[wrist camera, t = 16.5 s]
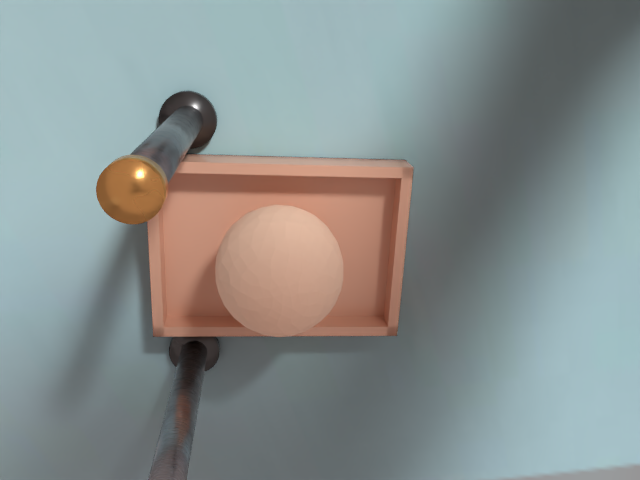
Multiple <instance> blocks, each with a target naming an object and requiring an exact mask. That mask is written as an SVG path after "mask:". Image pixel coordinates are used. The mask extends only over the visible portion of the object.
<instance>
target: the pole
mask: <svg viewBox="0 0 640 480" xmlns="http://www.w3.org/2000/svg"><path fill="white" fill-rule="evenodd" d="M219 350H220V347H219V342H218V340H217V338H216V336H199V337H173V339H172V341H171V344H170V348H169V355H170V359H171V361H172V363H173V364H174V365H175V366H176V367H177V368H176V372H175V376H174V380H173V384H172V388H171V392H170V396H169V400H168V404H167V408H166V412H165V416H164V420H163V424H162V427H161V431H160V435H159V439H158V443H157V447H156V451H155V455H154V459H153V463H152V467H151V471H150V475H149V479H148V480H186V478H187V472H188V466H189V460H190V454H191V448H192V442H193V436H194V430H195V424H196V418H197V413H198V407H199V401H200V395H201V389H202V383H203V377H204V372H205V371H207V370H209V369H210V368H212V367H213V366H214V365H215V363H216V362H217V360H218V357H219Z"/></svg>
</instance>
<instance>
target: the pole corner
mask: <svg viewBox="0 0 640 480" xmlns="http://www.w3.org/2000/svg"><path fill="white" fill-rule="evenodd" d="M159 123H160V126H159V127H158V128H157V129H156V130H155V131H154V132H153V133H152V134H151V135H150V136H149V137H148V138H147V139H146V140H145V141H144V142H143V143H142V144H141V145H139V146H138V147H137V148H136V149H135V150H134V151H133V152H132V153H131V154H130V155H126V156H122V157H120V158H118V159H116V160H115V161H113V162H112V163H111V164H110V165H109V166H108V167H107V168H105V169H104V171H103V172H102V173H101V175H100V176H99V179H98V181H97V187H96V193H97V198H98V201H99V203H100V205H101V207H102V209H103V210H104V211H105V212H106V213H107V214H108V215H109V216H110V217H112V218H113V219H115V220H117V221H119V222H122V223H126V224H140V223H144V222H147V221H149V220H150V219H152V218H153V217H154V216H156V215H157V213H158V212H159V211H160V209H161V208H162V206H163V204H164V202H165V200H166V198H167V195H168V183H169V181H170V180H171V178H172V176H173V175H174V173H175V171H176V170H177V168H178V166H179V165H180V163H181V161H182V160H183V158H184V156H185V155H186V153H187V151H188V150H189V149H193V148H197V147H200V146H202V145H204V144H206V143H207V142H208V141H209V140H210V139H211V137H212V136H213V134H214V132H215V129H216V126H217V115H216V112H215V109H214V107H213V105H212V104H211V102H210V101H209V100H208V99H207V98H206V97H204V96H203V95H201V94H199V93H196V92H193V91H182V92H178V93H176V94H174V95H172V96H171V97H169V98H168V99H167V100H166V101H165V102H164V104H163V105H162V108H161V110H160V114H159Z"/></svg>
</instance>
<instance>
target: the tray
mask: <svg viewBox="0 0 640 480" xmlns="http://www.w3.org/2000/svg"><path fill="white" fill-rule="evenodd" d="M412 178H413V167H412V166H411V165H410V164H409V163H408V162H407V161H406V160H389V159H351V158H314V157H276V156H238V155H200V154H186V155H185V156H184V158H183V160H182V161H181V163H180V165H179V166H178V168H177V170H176V171H175V173H174V175H173V176H172V178H171V180H170V181H169V183H168V195H167V198H166V200H165V202H164V204H163V206H162V208H161V209H160V211H159V212H158V213H157V215H156V216H154V217H153V218H152V219H150V220H149V221H147V226H148V245H149V264H150V283H151V302H152V321H153V337H199V336H267V335H262V334H260V333H257V332H255V331H252V330H250V329H248V328H246V327H245V326H244V325H242V324H241V323H240V322H238V321H237V320H236V319H235V318H234V317H233V316H232V315H231V314H230V312H229V311H228V310H227V308H226V307H225V306H224V304H223V302H222V299H221V297H220V295H219V292H218V288H217V284H216V276H215V266H216V256H217V253H218V250H219V247H220V244H221V242H222V240H223V238H224V236H225V234H226V232H227V231H228V230H229V229H230V227H231V226H232V225H233V224H234V223H235V222H237V221H238V220H239V219H240V218H242V217H243V216H244V215H245V214H247V213H249V212H251V211H254V210H256V209H258V208H261V207H266V206H272V205H286V206H294V207H297V208H299V209H302V210H305V211H307V212H309V213H311V214H313V215H315V216H316V217H317V218H318V219H320V220H321V221H322V222H323V223H324V224H325V225H326V226H327V227H328V228H329V230H330V231H331V233H332V234H333V236H334V237H335V239H336V240H337V242H338V245H339V248H340V251H341V255H342V259H343V283H342V288H341V292H340V294H339V296H338V299H337V301H336V303H335V305H334V307H333V308H332V310H331V311H330V313H329V314H328V315H327V316H326V317H325V318H323V319H322V320H321V321H320V322H319V323H318V324H316V325H315V326H313V327H312V328H310V329H309V330H306V331H304V332H302V333H300V334H296V335H293V336H397V331H398V321H399V310H400V300H401V290H402V280H403V270H404V260H405V249H406V239H407V229H408V219H409V209H410V199H411V188H412Z"/></svg>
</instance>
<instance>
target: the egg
mask: <svg viewBox="0 0 640 480" xmlns="http://www.w3.org/2000/svg"><path fill="white" fill-rule="evenodd" d="M215 276H216V284H217V288H218V292H219V295H220V297H221V299H222V302H223V304H224V306H225V307H226V308H227V310H228V311H229V312H230V314H231V315H232V316H233V317H234V318H235V319H236V320H237V321H238V322H240V323H241V324H242V325H244V326H245V327H246V328H248V329H250V330H252V331H255V332H257V333H260V334H262V335H267V336H273V337H286V336H293V335H296V334H300V333H302V332H304V331H306V330H309V329H310V328H312V327H313V326H315V325H316V324H318V323H319V322H320V321H321V320H322V319H323V318H325V317H326V316H327V315H328V314H329V313H330V311H331V310H332V308H333V307H334V305H335V303H336V301H337V299H338V296H339V294H340V292H341V288H342V283H343V259H342V255H341V251H340V248H339V245H338V242H337V240H336V239H335V237H334V236H333V234H332V233H331V231H330V230H329V228H328V227H327V226H326V225H325V224H324V223H323V222H322V221H321V220H320V219H318V218H317V217H316V216H315V215H313V214H311V213H309V212H307V211H305V210H302V209H299V208H297V207H294V206H286V205H272V206H266V207H261V208H258V209H256V210H254V211H251V212H249V213H247V214H245V215H244V216H243V217H242V218H240V219H239V220H238V221H237V222H235V223H234V224H233V225H232V226H231V227H230V229H229V230H228V231H227V232H226V234H225V236H224V238H223V240H222V242H221V244H220V247H219V250H218V253H217V256H216V266H215Z"/></svg>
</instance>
